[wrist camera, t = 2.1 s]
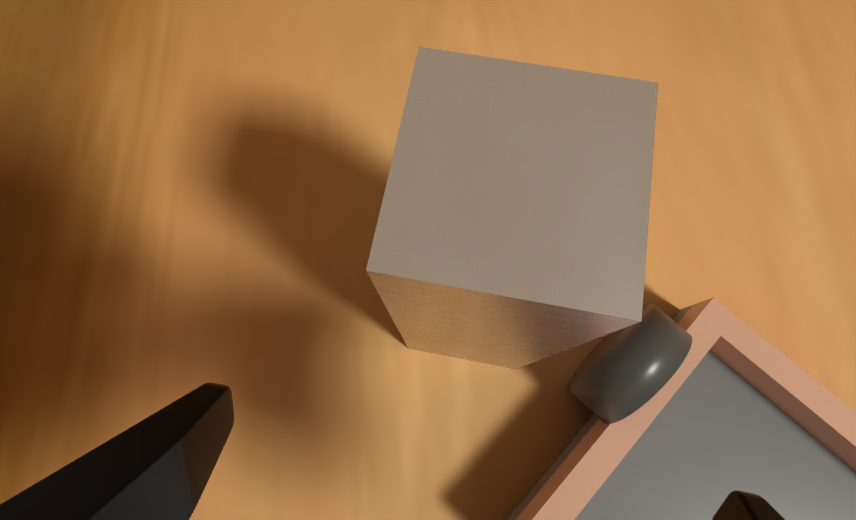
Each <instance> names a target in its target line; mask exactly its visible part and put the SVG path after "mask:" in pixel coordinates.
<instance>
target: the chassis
mask: <svg viewBox="0 0 856 520" xmlns="http://www.w3.org/2000/svg"><path fill="white" fill-rule="evenodd" d="M568 389H569V391H570V392H571V393H572V394H574V395H575V396H576V397H577V398H578V399H579V400H580V401H581V402H582V403H583V404H584V405H585V406H587V407H588V408H589V409H590V410H591V411H592V412H593V413H594V414H593V416H592V417H591V418H590V419H589V420H588V422H587V423H586V424H585V425H584V426H583V428H582V429H581V430H580V431H579V432H578V434H577V435H576V436H575V437H574V438H573V440H572V441H571V442H570V443H569V444H568V446H567V447H566V448H565V449H564V450H563V452H562V453H561V454H560V455H559V457H558V458H557V459H556V460H555V461H554V463H553V464H552V465H551V466H550V467H549V469H548V470H547V471H546V472H545V473H544V475H543V476H542V477H541V478H540V479H539V481H538V482H537V483H536V484H535V485H534V487H533V488H532V489H531V490H530V491H529V493H528V494H527V495H526V496H525V497H524V499H523V500H522V501H521V502H520V503H519V505H518V506H517V507H516V508H515V510H514V511H513V512H512V513H511V514H510V516H509V517H508V518H507V519H506V520H712V519H713V516H714V515H715V513H716V512H717V510H718V509H719V507H720V506H721V505H722V503H723V502H724V500H725V499H726V497H727V496H728V495H729V493H730V492H732V491H734V490H739V491H744V492H748V493H753V494H757V495H759V496H761V497H763V498H764V499H765V500H766V501H767V502H768V503H769V504H770V505H771V506H772V507H773V508H774V509H775V510H776V511H777V512H778V513H779V514H780V515H781V516H782V517H783V518H784V519H785V520H856V412H855V411H854V410H853V409H851V408H850V407H849V406H848V405H847V404H845V403H844V402H843V401H842V400H840V399H839V398H838V397H837V396H835V395H834V394H833V393H832V392H830V391H829V390H828V389H827V388H825V387H824V386H823V385H822V384H820V383H819V382H818V381H817V380H815V379H814V378H813V377H812V376H811V375H809V374H808V373H807V372H806V371H804V370H803V369H802V368H801V367H799V366H798V365H797V364H796V363H794V362H793V361H792V360H791V359H789V358H788V357H787V356H786V355H784V354H783V353H782V352H781V351H779V350H778V349H777V348H776V347H774V346H773V345H772V344H771V343H770V342H768V341H767V340H766V339H765V338H763V337H762V336H761V335H760V334H758V333H757V332H756V331H755V330H753V329H752V328H751V327H750V326H748V325H747V324H746V323H745V322H743V321H742V320H741V319H740V318H738V317H737V316H736V315H735V314H733V313H732V312H731V311H730V310H729V309H727V308H726V307H725V306H724V305H722V304H721V303H720V302H719V301H717V300H716V299H715V298H714V297H713V298H711V299H708V300H705V301H703V302H700V303H697V304H694V305H692V306H689V307H686V308H683V309H681V310H680V311H679V312H678V313H677V314H676V316H675V317H674V318H673V319H671V318H670V317H669V316H668V315H667V314H665V313H664V312H663V311H662V310H661V309H659V308H658V307H657V306H656V305H655V304H653V303H647V304H645V305H643V308H642V321H641V322H639V323H636V324H633V325H631V326H628V327H625V328H623V329H620V330H618V331H615V332H612V333H610V334H607V335H606V336H605V337H604V339H603V340H602V341H601V342H600V343H599V344H598V345H597V346H596V347H595V348H594V349H593V350H592V352H591V353H590V354H589V355H588V356H587V358H586V359H585V360H584V361H583V363H582V364H581V365H580V367H579V368H578V369H577V371H576V372H575V374H574V375H573V377H572V379H571V381H570V383H569V386H568Z"/></svg>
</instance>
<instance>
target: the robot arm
mask: <svg viewBox="0 0 856 520" xmlns="http://www.w3.org/2000/svg"><path fill="white" fill-rule="evenodd" d="M233 423H234V410H233V401H232V393H231V389H230V388H229V387H228V386H226V385H221V384H216V383H206V384H203V385H202V386H200V387H198V388H197V389H195V390H193V391H191V392H190V393H188V394H186V395H185V396H183V397H181V398H180V399H178V400H176V401H175V402H173V403H171V404H169V405H168V406H166V407H164V408H163V409H161V410H159V411H158V412H156V413H154V414H153V415H151V416H149V417H147V418H146V419H144V420H142V421H141V422H139V423H137V424H136V425H134V426H132V427H131V428H129V429H127V430H125V431H124V432H122V433H120V434H119V435H117V436H115V437H114V438H112V439H110V440H109V441H107V442H105V443H103V444H102V445H100V446H98V447H97V448H95V449H93V450H92V451H90V452H88V453H87V454H85V455H83V456H81V457H80V458H78V459H76V460H75V461H73V462H71V463H70V464H68V465H66V466H65V467H63V468H61V469H59V470H58V471H56V472H54V473H53V474H51V475H49V476H48V477H46V478H44V479H43V480H41V481H39V482H37V483H36V484H34V485H32V486H31V487H29V488H27V489H26V490H24V491H22V492H21V493H19V494H17V495H15V496H14V497H12V498H10V499H9V500H7V501H5V502H4V503H2V504H0V520H189V518H190V517H191V515H192V513H193V511H194V509H195V507H196V505H197V503H198V501H199V499H200V497H201V495H202V493H203V491H204V488H205V486H206V484H207V482H208V480H209V478H210V475H211V473H212V471H213V469H214V467H215V465H216V462H217V460H218V458H219V456H220V454H221V452H222V449H223V447H224V445H225V443H226V441H227V439H228V436H229V434H230V432H231V430H232V427H233ZM712 520H785V519H784V518H783V517H782V516H781V515H780V514H779V513H778V512H777V511H776V510H775V509H774V508H773V507H772V506H771V505H770V504H769V503H768V502H767V501H766V500H765V499H764V498H763V497H761V496H759V495H757V494H753V493H748V492H744V491H739V490H734V491H732V492H730V493H729V495H728V496H727V497H726V499H725V500H724V502H723V503H722V505H721V506H720V507H719V509H718V510H717V512H716V513H715V515H714V516H713V519H712Z"/></svg>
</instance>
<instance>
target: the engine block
mask: <svg viewBox="0 0 856 520" xmlns="http://www.w3.org/2000/svg"><path fill="white" fill-rule="evenodd" d="M657 92H658V83H656V82H650V81H643V80H636V79H630V78H623V77H616V76H610V75H603V74H596V73H590V72H583V71H576V70H570V69H563V68H556V67H550V66H543V65H537V64H530V63H523V62H517V61H510V60H503V59H497V58H490V57H483V56H477V55H470V54H463V53H457V52H450V51H443V50H437V49H430V48H423V47H419V49H418V53H417V57H416V62H415V66H414V70H413V74H412V78H411V83H410V87H409V91H408V95H407V99H406V104H405V108H404V112H403V116H402V120H401V125H400V129H399V133H398V137H397V141H396V146H395V150H394V154H393V158H392V163H391V167H390V171H389V175H388V179H387V184H386V188H385V192H384V196H383V200H382V205H381V209H380V213H379V217H378V221H377V226H376V230H375V234H374V238H373V243H372V247H371V251H370V255H369V259H368V264H367V268H366V272H367V274H368V275H369V277H370V279H371V281H372V283H373V285H374V286H375V288H376V290H377V292H378V294H379V296H380V297H381V299H382V301H383V303H384V305H385V307H386V308H387V310H388V312H389V314H390V316H391V318H392V319H393V321H394V323H395V325H396V327H397V329H398V330H399V332H400V334H401V336H402V338H403V340H404V341H405V343H406V345H407V347H408V348H410V349H415V350H420V351H425V352H430V353H435V354H440V355H445V356H451V357H456V358H461V359H466V360H471V361H476V362H481V363H487V364H492V365H497V366H502V367H507V368H512V369H517V368H520V367H522V366H525V365H528V364H530V363H533V362H536V361H538V360H541V359H544V358H546V357H549V356H552V355H554V354H557V353H559V352H562V351H565V350H567V349H570V348H573V347H575V346H578V345H581V344H583V343H586V342H588V341H591V340H594V339H596V338H599V337H602V336H604V335H607V334H610V333H612V332H615V331H618V330H620V329H623V328H625V327H628V326H631V325H633V324H636V323H639V322H641V321H642V308H643V293H644V279H645V264H646V250H647V236H648V221H649V207H650V192H651V178H652V164H653V149H654V135H655V120H656V106H657Z"/></svg>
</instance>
